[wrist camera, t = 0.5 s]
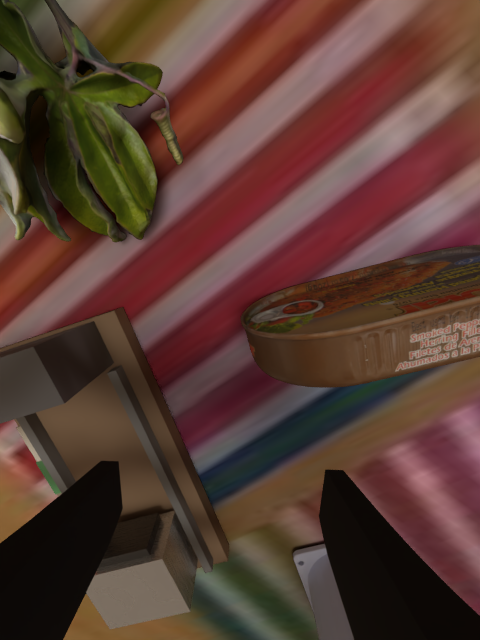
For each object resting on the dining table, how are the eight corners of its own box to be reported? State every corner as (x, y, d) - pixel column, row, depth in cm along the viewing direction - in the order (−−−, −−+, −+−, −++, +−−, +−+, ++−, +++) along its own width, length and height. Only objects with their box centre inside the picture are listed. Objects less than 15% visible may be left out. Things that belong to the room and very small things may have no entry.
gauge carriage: (198, 557, 20) (190, 611, 17) (105, 579, 21) (81, 635, 18) (172, 504, 19) (158, 552, 16) (74, 529, 20) (42, 580, 17)
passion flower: (78, 177, 20) (-229, -58, 10) (191, 90, 17) (-81, -410, 6) (83, 301, 16) (-442, 130, 5) (233, 217, 13) (-327, -582, 2)
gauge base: (228, 544, 22) (224, 648, 16) (121, 570, 23) (80, 677, 17) (122, 307, 17) (60, 332, 11) (-9, 351, 18) (-130, 396, 12)
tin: (472, 239, 16) (715, 221, 8) (473, 288, 17) (698, 318, 8) (239, 299, 17) (237, 337, 9) (250, 342, 18) (258, 416, 9)
